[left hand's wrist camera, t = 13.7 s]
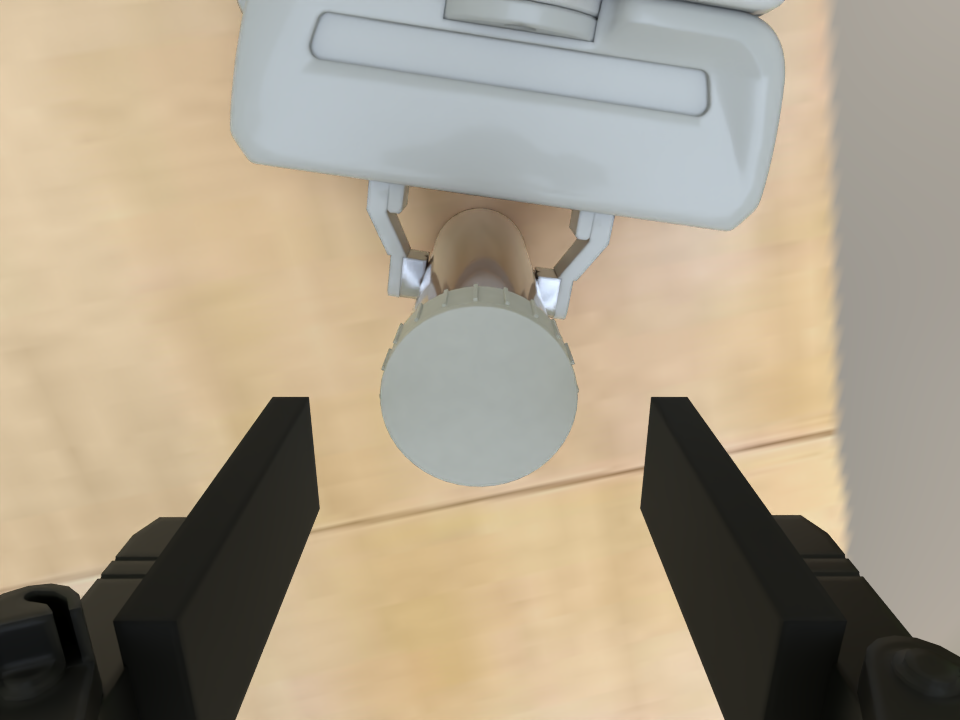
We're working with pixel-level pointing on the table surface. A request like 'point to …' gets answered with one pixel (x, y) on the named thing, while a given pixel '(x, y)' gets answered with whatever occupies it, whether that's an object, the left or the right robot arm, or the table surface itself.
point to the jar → (479, 257)
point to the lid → (478, 387)
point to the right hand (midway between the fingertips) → (477, 304)
